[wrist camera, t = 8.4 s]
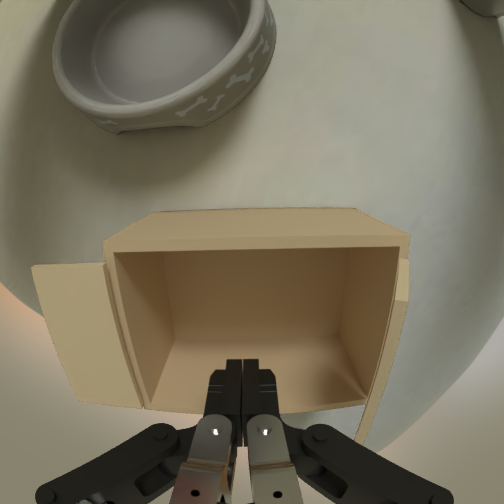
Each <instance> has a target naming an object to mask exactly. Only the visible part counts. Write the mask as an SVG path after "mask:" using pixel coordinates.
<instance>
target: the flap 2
mask: <svg viewBox="0 0 504 504" xmlns="http://www.w3.org/2000/svg"><path fill="white" fill-rule="evenodd" d="M408 295H409V259H402V258H400V260H399V267H398V274H397V280H396V286H395V292H394V298H393V303H392V308H391V313H390V318H389V323H388V328H387V332H386V336H385V341H384V345H383V349H382V353H381V357H380V360H379V364H378V368H377V371H376V375H375V378H374V382H373V385H372V388H371V391H370V395H369V398H368V401H367V404H366V407H365V410H364V413H363V416H362V419H361V422H360V425H359V428H358V431H357V433H356V436H355V439H354V441H355V442H357V443H359V444H360V445H363V443H364V441H365V438H366V436H367V434H368V431H369V429H370V426H371V424H372V421H373V419H374V416H375V414H376V411H377V408H378V406H379V403H380V400H381V398H382V395H383V392H384V389H385V386H386V383H387V380H388V377H389V374H390V371H391V367H392V364H393V361H394V357H395V354H396V350H397V347H398V343H399V339H400V335H401V331H402V327H403V323H404V319H405V314H406V310H407V305H408Z"/></svg>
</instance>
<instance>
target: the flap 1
mask: <svg viewBox="0 0 504 504" xmlns="http://www.w3.org/2000/svg"><path fill="white" fill-rule="evenodd" d="M31 271H32V275H33V279H34V283H35V287H36V291H37V295H38V298H39V302H40V305H41V308H42V312H43V315H44V318H45V321H46V324H47V327H48V330H49V332H50V335H51V338H52V341H53V344H54V346H55V349H56V351H57V354H58V356H59V359H60V361H61V364H62V366H63V368H64V371H65V373H66V375H67V377H68V380H69V382H70V384H71V386H72V388H73V390H74V392H75V394H76V396H77V398H78V400H79V401H82V402H88V403H95V404H102V405H109V406H118V407H128V408H140V409H142V407H143V401H142V398H141V395H140V392H139V389H138V387H137V384H136V381H135V378H134V374H133V371H132V368H131V365H130V362H129V358H128V355H127V351H126V348H125V344H124V341H123V337H122V333H121V330H120V326H119V322H118V317H117V313H116V309H115V305H114V300H113V295H112V291H111V286H110V281H109V275H108V270H107V264H106V262H100V263H74V264H48V265H34V266H33V267H31Z"/></svg>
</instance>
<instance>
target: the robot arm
mask: <svg viewBox="0 0 504 504" xmlns="http://www.w3.org/2000/svg"><path fill="white" fill-rule="evenodd" d="M461 1H462V2H463V3H464V4H466V5H467V6H468V7H469V8H470V9H472V10H473V11H475V12H476V13H478V14H480V15H482V16H485V17H490V16H495V17H496V18H499V17H501V16H504V0H461ZM243 439H244V447H248V460H249V470H250V480H251V489H252V499H253V503H249V504H303V499H302V495H301V491H300V487H299V482H298V478H297V475H298V477H299V478H301V479H302V480H303V481H304V482H306V483H307V484H308V485H310V486H311V487H312V488H314V489H315V490H317V491H318V492H319V493H321V494H323V495H324V496H325V497H326V498H328V499H329V500H331V501H332V502H334V503H336V504H454V499H453V495H452V494H451V492H450V491H449V490H447V489H445V488H443V487H441V486H439V485H436V484H434V483H432V482H430V481H428V480H426V479H424V478H422V477H420V476H417V475H415V474H413V473H411V472H409V471H408V470H406V469H403V468H402V467H400V466H398V465H396V464H394V463H392V462H390V461H388V460H387V459H385V458H383V457H381V456H380V455H378V454H376V453H374V452H372V451H371V450H369V449H367V448H366V447H364V446H362V445H360V444H359V443H357V442H355V441H354V440H352V439H350V438H349V437H347V436H346V435H344V434H342V433H341V432H339V431H338V430H336V429H334V428H333V427H331V426H329V425H326V424H315V425H312V426H310V427H308V428H307V429H306V430H303V429H297V428H293V427H290V426H288V425H286V424H285V423H284V422H283V421H282V419H281V417H280V412H279V403H278V394H277V385H276V376H275V375H274V373H273V372H272V371H271V369H259V359H243V365H242V359H227V360H226V369H216V370H215V371H214V372H213V373H212V375H211V376H210V379H209V386H208V392H207V397H206V403H205V409H204V415H203V418H202V419H200V420H199V422H198V424H197V425H195V426H193V427H190V428H186V429H181V430H176V429H175V428H174V427H173V426H171V425H169V424H165V423H158V424H154V425H151V426H150V427H148V428H147V429H145V430H143V431H142V432H140V433H138V434H137V435H135V436H133V437H132V438H130V439H129V440H127V441H125V442H123V443H122V444H120V445H118V446H116V447H115V448H113V449H111V450H110V451H108V452H106V453H104V454H102V455H101V456H99V457H97V458H95V459H93V460H92V461H90V462H88V463H86V464H84V465H82V466H80V467H78V468H76V469H74V470H72V471H70V472H68V473H66V474H64V475H62V476H60V477H58V478H56V479H54V480H52V481H50V482H48V483H45V484H43V485H41V486H40V487H39V488H38V489H37V491H36V494H35V499H36V503H37V504H148V503H150V502H151V501H153V500H154V499H155V498H157V497H158V496H160V495H161V494H163V493H164V492H166V491H167V490H169V489H170V488H171V487H173V486H174V489H173V492H172V496H171V499H170V503H169V504H231V495H232V487H233V480H234V472H235V465H236V457H237V447H242V442H243Z"/></svg>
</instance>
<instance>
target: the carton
mask: <svg viewBox="0 0 504 504" xmlns="http://www.w3.org/2000/svg"><path fill="white" fill-rule="evenodd" d="M410 236H411V235H409V234H407V233H405V232H403V231H401V230H399V229H397V228H395V227H393V226H391V225H389V224H387V223H385V222H383V221H381V220H379V219H377V218H375V217H372V216H370V215H368V214H366V213H364V212H362V211H359V210H357V209H355V208H244V209H211V210H187V211H167V212H154V213H152V214H150V215H148V216H146V217H144V218H142V219H141V220H139V221H137V222H135V223H133V224H132V225H130V226H128V227H126V228H124V229H123V230H121V231H119V232H117V233H116V234H114V235H112V236H110V237H109V238H107V239H105V240H104V241H102V246H103V252H104V258H105V262H106V264H107V270H108V275H109V281H110V286H111V291H112V295H113V300H114V305H115V309H116V313H117V317H118V322H119V326H120V330H121V333H122V337H123V341H124V344H125V348H126V351H127V355H128V358H129V362H130V365H131V368H132V371H133V374H134V378H135V381H136V384H137V387H138V389H139V392H140V395H141V398H142V401H143V406H144V408H145V409H149V410H157V411H167V412H178V413H191V414H204V409H205V403H206V397H207V392H208V386H209V379H210V376H211V375H212V373H213V372H214V371H215V370H216V369H226V360H227V359H242V365H243V359H259V369H271V371H272V372H273V373H274V375H275V376H276V385H277V394H278V403H279V412H280V414H287V413H301V412H312V411H321V410H329V409H337V408H344V407H351V406H357V405H363V404H367V401H368V398H369V395H370V391H371V388H372V385H373V382H374V378H375V375H376V371H377V368H378V364H379V360H380V357H381V353H382V349H383V345H384V341H385V336H386V332H387V328H388V323H389V318H390V313H391V308H392V303H393V298H394V292H395V286H396V280H397V274H398V267H399V260H400V258H402V259H408V252H409V244H410Z"/></svg>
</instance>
